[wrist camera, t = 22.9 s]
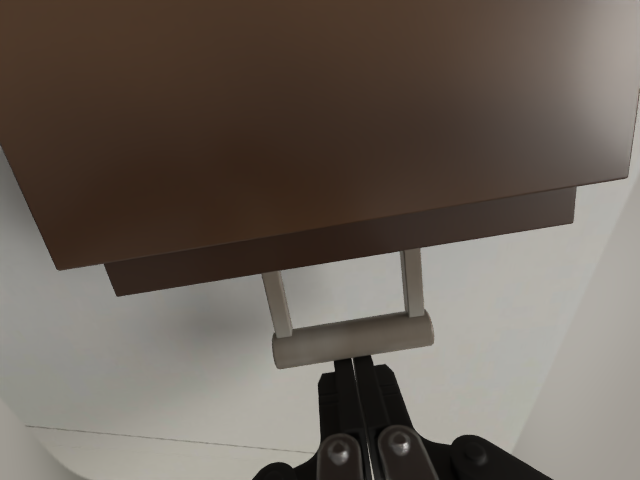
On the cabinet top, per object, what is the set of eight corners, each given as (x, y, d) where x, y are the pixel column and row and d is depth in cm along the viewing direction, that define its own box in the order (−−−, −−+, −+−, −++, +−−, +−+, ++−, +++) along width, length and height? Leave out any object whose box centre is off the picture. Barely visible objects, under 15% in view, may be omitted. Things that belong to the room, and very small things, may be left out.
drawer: (479, 284, 17) (561, 363, 12) (210, 327, 17) (166, 424, 12) (476, -279, 11) (658, -703, 5) (48, -201, 11) (-215, -531, 5)
